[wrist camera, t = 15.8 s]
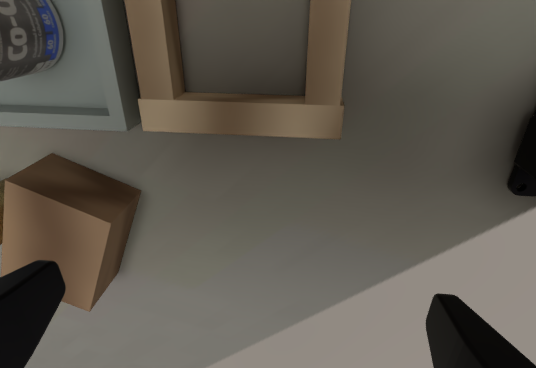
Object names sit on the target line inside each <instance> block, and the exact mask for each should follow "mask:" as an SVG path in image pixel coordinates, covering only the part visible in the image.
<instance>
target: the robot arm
mask: <svg viewBox="0 0 536 368" xmlns="http://www.w3.org/2000/svg"><path fill="white" fill-rule="evenodd" d="M515 163H516V164H515V166H514V169H513V172H512V174H511V177H510V180H509V182H508V189H509V190H510V191H511V192H512V193H513V194H515V195H519V196H536V111H535V113H534V116H532V117H531V118H530V121H529V124H528V126H527V129H526V132H525V134H524V137H523V140H522V142H521V145H520V148H519V150H518V153H517V156H516V158H515ZM522 183H523V185H522V186H521V187H519V188H516V187H517V186H518V185H519V184H522ZM65 290H66V285H65V282H64V279H63V276H62V274H61V271H60V268H59V266H58V264H57V263H56V262H55V261H50V260H36V261H34V262H32V263H30V264H28V265H26V266H23V267H21V268H19V269H17V270H15V271H13V272H11V273H9V274H6V275H4V276H2V277H0V368H24V367H25V365H26V364H27V362H28V361H29V359H30V357H31V356H32V354H33V352H34V351H35V349H36V347H37V345H38V344H39V342H40V340H41V338H42V336H43V334H44V332H45V330H46V329H47V327H48V325H49V323H50V321H51V319H52V317H53V315H54V313H55V312H56V310H57V308H58V306H59V304H60V302H61V300H62V298H63V297H64V294H65ZM426 331H427V336H428V341H429V346H430V351H431V356H432V361H433V366H434V368H536V366H535V365H534V364H533V363H532V362H531V361H530V360H529V359H528V358H526V357H525V356H524V355H523V354H522V353H520V351H518V350H517V349H516V348H515V347H514V346H513V345H512V344H511V343H509V342H508V341H507V340H506V339H505V338H504V337H503V336H501V335H500V334H499V333H498V332H497V331H496V330H495V329H494V328H492V327H491V326H490V325H489V324H488V323H487V322H485V321H484V320H483V319H482V318H481V317H480V316H479V315H478V314H477V313H475V312H474V311H473V310H472V309H470V307H468V306H467V305H466V304H465V303H464V302H463V301H462V300H461V299H459V298H458V297H457V296H455V295H450V294H436V295H434V297H433V299H432V303H431V306H430V309H429V312H428V315H427V318H426Z"/></svg>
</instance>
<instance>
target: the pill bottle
mask: <svg viewBox="0 0 536 368" xmlns="http://www.w3.org/2000/svg"><path fill="white" fill-rule="evenodd" d="M62 48H63V29H62V25H61V22H60V19H59V16H58V14H57V12H56V10H55V8H54V6H53V4H52V3H51V1H50V0H0V81H5V80H9V79H13V78H17V77H22V76H26V75H31V74H35V73H39V72H42V71H45V70H47V69H49V68H50V67H52V66H53V65H54V64H55V63H56V61H57V60H58V59H59V57H60V55H61V52H62Z"/></svg>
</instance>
